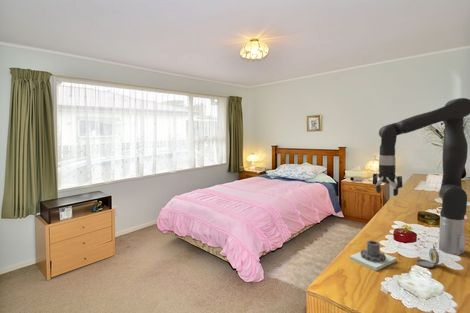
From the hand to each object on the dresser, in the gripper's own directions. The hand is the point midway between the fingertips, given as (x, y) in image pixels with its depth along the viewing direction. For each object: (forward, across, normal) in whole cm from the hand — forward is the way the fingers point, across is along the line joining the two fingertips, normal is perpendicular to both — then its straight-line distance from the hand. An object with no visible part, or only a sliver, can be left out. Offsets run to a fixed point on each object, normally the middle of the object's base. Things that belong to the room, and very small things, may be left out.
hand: (386, 194), depth 136 cm
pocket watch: (+28, -22, +6) cm, 36 cm away
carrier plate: (+27, -6, +22) cm, 36 cm away
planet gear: (+26, -6, +22) cm, 35 cm away
